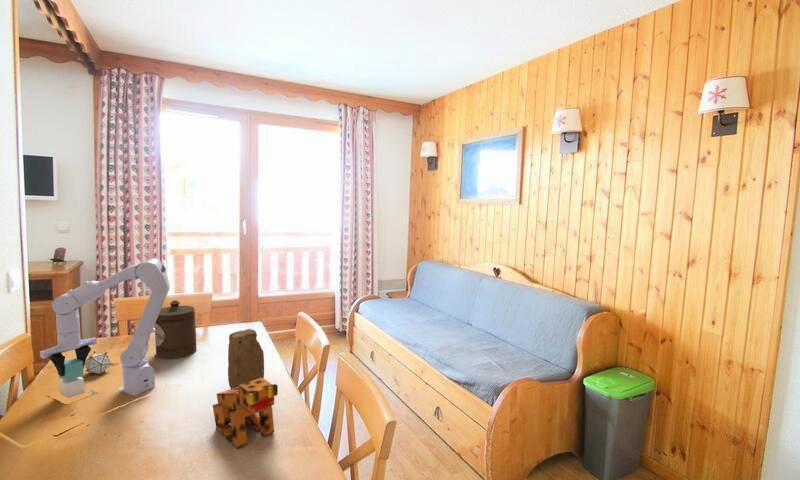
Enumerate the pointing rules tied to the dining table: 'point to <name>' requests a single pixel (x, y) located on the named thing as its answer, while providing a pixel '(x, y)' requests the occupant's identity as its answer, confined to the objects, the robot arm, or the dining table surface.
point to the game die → (97, 363)
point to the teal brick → (72, 369)
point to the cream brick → (72, 387)
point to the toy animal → (245, 410)
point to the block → (244, 358)
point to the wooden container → (175, 331)
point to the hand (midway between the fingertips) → (71, 372)
